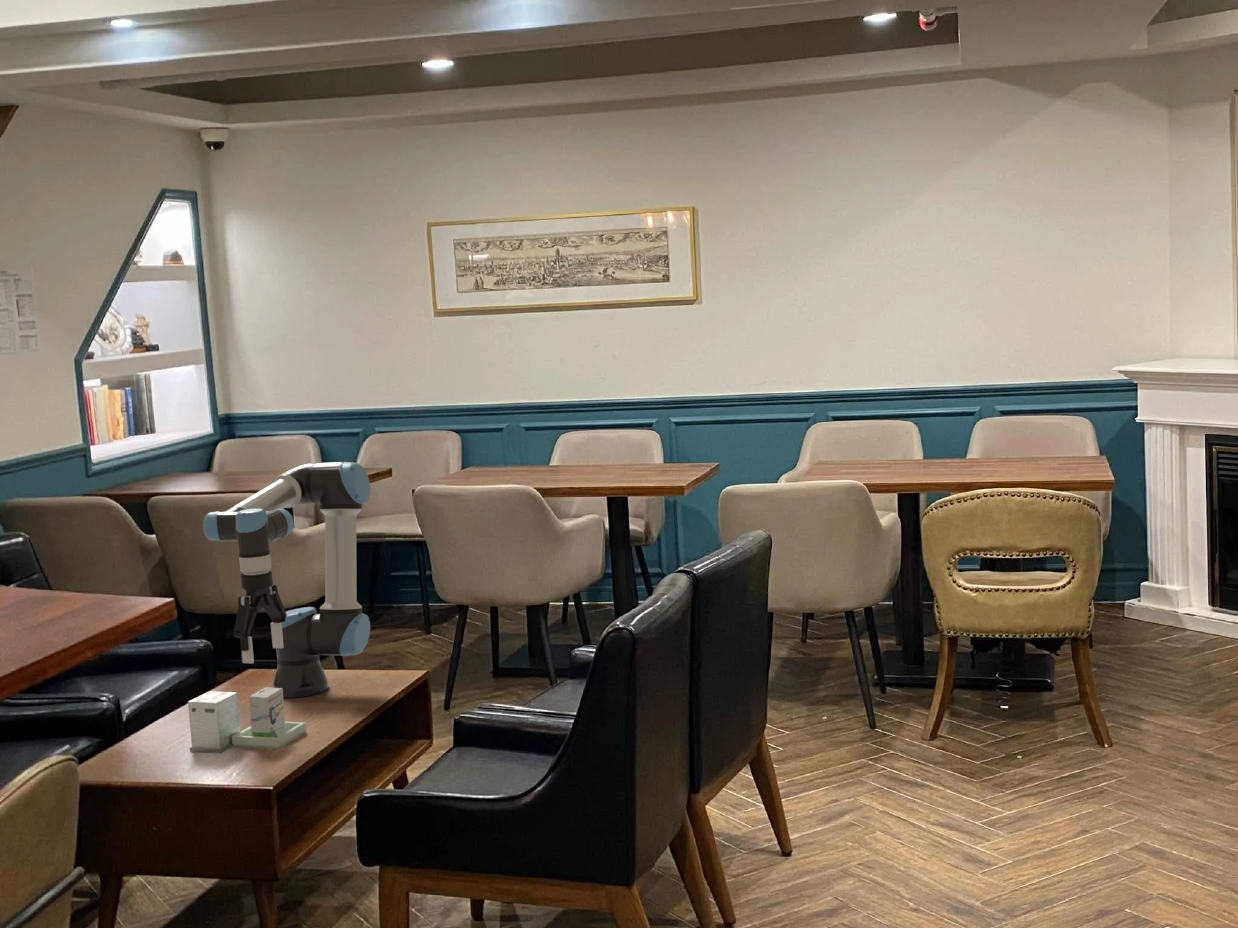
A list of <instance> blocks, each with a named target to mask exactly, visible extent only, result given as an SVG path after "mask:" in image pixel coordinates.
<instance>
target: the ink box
mask: <svg viewBox="0 0 1238 928" xmlns="http://www.w3.org/2000/svg"><path fill="white" fill-rule="evenodd" d="M249 706H250V707H249V708H250V710H249V711H250V724H251V725H250V726H251V728H252V736H257V737H275V738H277V737H278V736H280V735H281V734H282V733H284V732H285V722H286V720H285V707H284V697H283V689H282V688H273V687H269V686H267V687H264V688H262V689H260V690H258V691H257V692H254V693H253V694H251V695H250V696H249Z"/></svg>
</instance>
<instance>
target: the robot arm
mask: <svg viewBox="0 0 1238 928" xmlns="http://www.w3.org/2000/svg"><path fill="white" fill-rule="evenodd" d="M370 495H371V483H370V479H369V476H368V474H367V472H366V469H365V468H364V466H362V465H361V464H360V463H358V462H351V461H350V462H349V461H339V462H338V461H336V462H335V461H333V462H308V463H304V464H300V465H298V466H296V467H293V468H291V469H289V470H287V471H285V472H282V473H280V474H279V475H277V476H275V477H274V478H273V479H272V480H271V482H270V484H269V485H267V486H265V487H264V488H263V489H260V490H259V491H257V492H256V493H253V494H252V495H250V496H248V497H247V498H244V500H242V501H240V502H238V503H236V504H235V505H234V506H232V507H230V508H228V509H226V510H224V511H218V510H217V511H211V512H207V514H206V515H205V517H204V519H203V523H202V530H203V534H204V536H205V538H206V539H207V540H209V541H212V542H213V541H214V542H237V548H238V549H237V550H238V557H239V558H238V560H239V571H240V572H241V574H240V583H241V588H242V590H245V591H246V593H245V596H238V598H237V599H238V602H237V604H238V605H237V606H238V608H237V612H236V619H235V622H234V623H235V624H234V630H233V637H234V638H237V639H238V638H239V642H240V650H241V661H242V663H243V664H254V663H255V660H254V658H255V657H254V649H253V637H252V636H250V634H251V632H252V630H253V625H254V623H255V619H256V616H257V614H258V613H259V612H260V611H261V610H262V609H264V611H265V612H266V614H267V615H268V617H269V618H270V619H271V621H272V622H270V631H271V632H270V633H271V641H272V642H271V644H272V649H275V651H276V661H277V668H276V671H275V675H274V680H273V684H272V688H282V689H283V698H289V699H290V698H303V697H309V696H313V695H317V694H321V693H322V692H325V691H326V690H327V689H328V688H329V684H328V682H329V681H328V678H327V675H326V673H325V671H324V668H323V666H322V663H321V661H320V660H321V659H320V656H342V657H347V656H358V655H360V654H361V653H362V652H363V651H364V649H365V648H366V646H367V644H368V642H369V639H370V634H371V621H370V618H369V616H368V615H367V614H365V613H363V606H362V605H361V604H360V603H359V602H358V600H357V516H358V514H360V512H362V510H363V504H365V503H367V502H368V500H369V498H370ZM305 504H307V505H313V504H314V505H318V504H319V511H320V512H321V513H322V515H324V517H325V519H324V520H325V521H324V523H325V526H324V527H325V528H324V529H325V533H324V534H325V536H324V537H325V539H324V540H325V543H324V544H325V545H324V546H325V551H324V552H325V553H324V554H325V555H324V556H325V557H324V559H325V561H324V562H325V568H324V569H325V575H324V578H325V582H324V583H325V584H324V585H325V587H324V588H325V589H324V590H325V592H324V593H325V595H324V596H325V597H324V598H325V599H324V600H325V601H324V603H322V605H320V607H319V613H317V610H316V608H315V607H314V606H307V607H306V606H305V607H300V608H295V609H289V610H287V611H286V609H285V607H284V604H283V602H282V600H281V597H280V595H279V592H278V586H277V584H275V585H274V581H273V572H272V571H271V570H272V559H271V549H270V543H273V542H276V541H279V540H283V539H284V538H286V537H287V536H288V535H290V534H291V533H292V532H293V530H294V526H295V521H294V517H293V515H292V514H291V513H290V512H289V511H288V510H286V509H291V508H294V507H295V506H298V505H305ZM285 508H286V509H285Z"/></svg>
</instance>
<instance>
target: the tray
mask: <svg viewBox="0 0 1238 928" xmlns="http://www.w3.org/2000/svg"><path fill="white" fill-rule="evenodd" d="M306 726H307V725H306V722H302V721H301V722H299V721H285V732H284V733H282V734H281V735H280V736H278V737H277V738H275V737H257V736H252V728H251V725H249V726H248V727H245V728H244V729H243V730H240V732H239V733H237V734H235V735H234V736H232V745H233V746H232V747H233V748H248V749H250V748H252V749H263V750H265V749H267V750H280V749H282V748H283V747H285V746H286V745H288V744H290V743H292V742H294V741H295V740H296V739H298V738H300V737H301V736H303V735H305V734H306V733H307V727H306Z"/></svg>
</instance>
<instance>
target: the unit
mask: <svg viewBox="0 0 1238 928" xmlns="http://www.w3.org/2000/svg"><path fill="white" fill-rule="evenodd" d="M187 705H188V718H189V719H188V720H189V729H190V739H191V746H190V747H189V752H192V753H194V752H195V753H210V754H222V753H223V752H225V751H227V750H228V749H231V748H232V747H233V745H232V736H234V735H235V734H237V733H239V732H241V723H240V722H241V721H240V712H239V699H238V692H237V691H236V692H235V691H215V690H210V691H207V692H205V693H203V694H201V695H199V696H197V697H195V698H193V699H190V700H188V701H187Z"/></svg>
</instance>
